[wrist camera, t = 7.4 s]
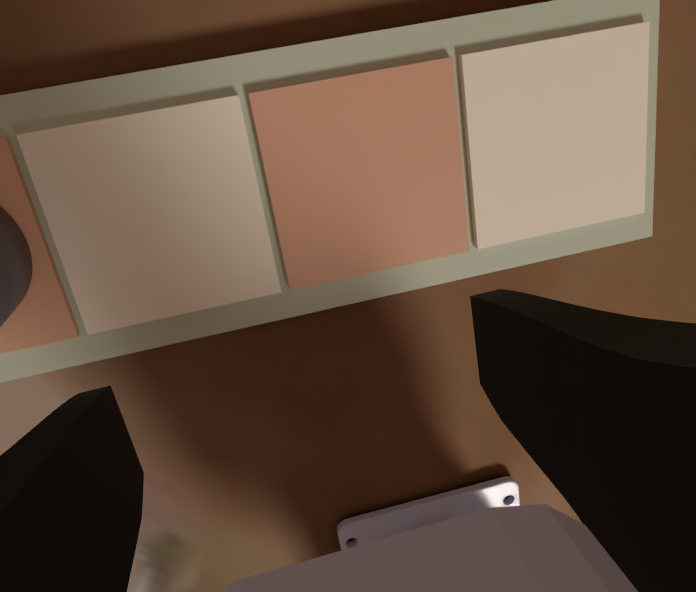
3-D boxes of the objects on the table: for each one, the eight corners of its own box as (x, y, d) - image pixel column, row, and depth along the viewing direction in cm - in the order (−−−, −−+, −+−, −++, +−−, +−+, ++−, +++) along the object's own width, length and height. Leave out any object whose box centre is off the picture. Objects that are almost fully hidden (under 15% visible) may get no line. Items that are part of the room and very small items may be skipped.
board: (638, 230, 24) (657, 238, 23) (-117, 399, 20) (-135, 416, 19) (644, -15, 20) (666, -20, 19) (-253, 139, 17) (-283, 143, 16)
